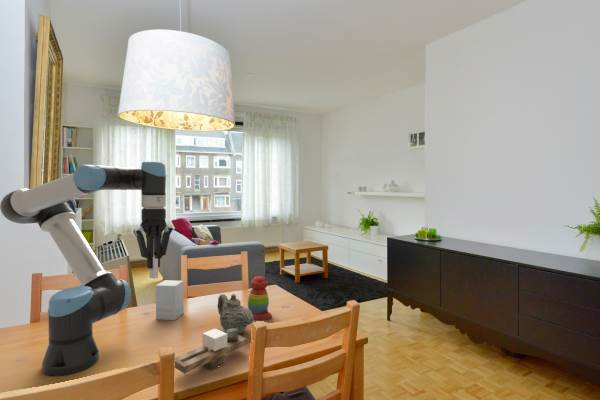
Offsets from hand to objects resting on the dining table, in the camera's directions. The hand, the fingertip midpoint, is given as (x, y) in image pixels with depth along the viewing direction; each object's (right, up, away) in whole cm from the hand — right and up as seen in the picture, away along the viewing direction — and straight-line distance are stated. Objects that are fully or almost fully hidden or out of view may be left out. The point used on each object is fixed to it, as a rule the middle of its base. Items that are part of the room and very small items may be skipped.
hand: (153, 277), depth 115 cm
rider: (+22, -23, -4) cm, 32 cm away
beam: (+21, -27, -4) cm, 34 cm away
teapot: (+23, -26, +21) cm, 41 cm away
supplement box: (-8, -25, +35) cm, 44 cm away
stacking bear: (+31, -26, +37) cm, 55 cm away
